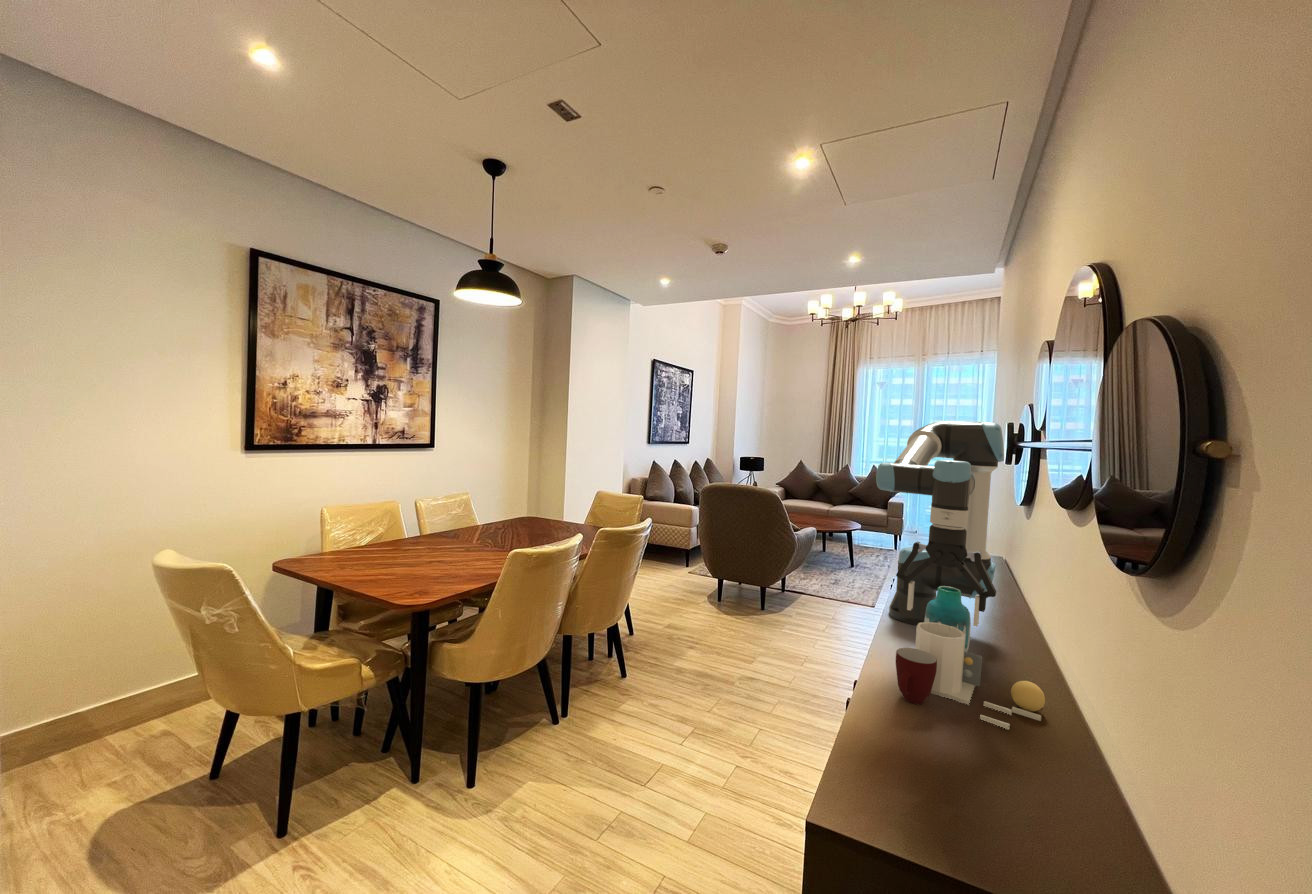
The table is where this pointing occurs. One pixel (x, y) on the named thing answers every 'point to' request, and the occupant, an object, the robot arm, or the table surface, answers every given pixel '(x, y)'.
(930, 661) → the mug
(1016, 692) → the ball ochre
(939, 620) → the vase
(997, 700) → the table surface
